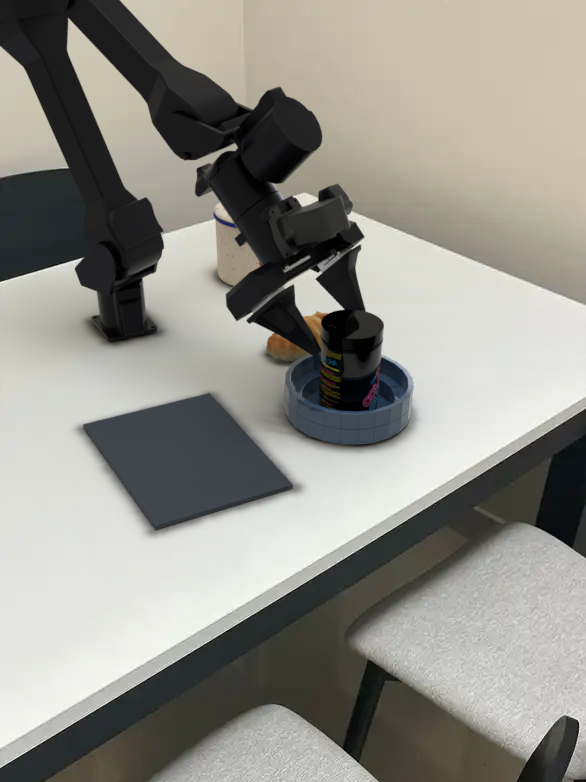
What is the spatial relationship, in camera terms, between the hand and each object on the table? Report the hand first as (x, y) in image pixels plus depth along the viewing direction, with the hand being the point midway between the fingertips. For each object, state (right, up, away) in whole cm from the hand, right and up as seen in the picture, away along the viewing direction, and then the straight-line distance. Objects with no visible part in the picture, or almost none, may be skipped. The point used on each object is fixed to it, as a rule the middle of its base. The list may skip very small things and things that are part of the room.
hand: (341, 337), depth 104 cm
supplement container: (+1, -7, +6) cm, 9 cm away
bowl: (+1, -7, +6) cm, 9 cm away
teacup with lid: (-13, +18, +31) cm, 39 cm away
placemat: (-17, -13, -2) cm, 21 cm away
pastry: (-5, +3, +16) cm, 17 cm away
